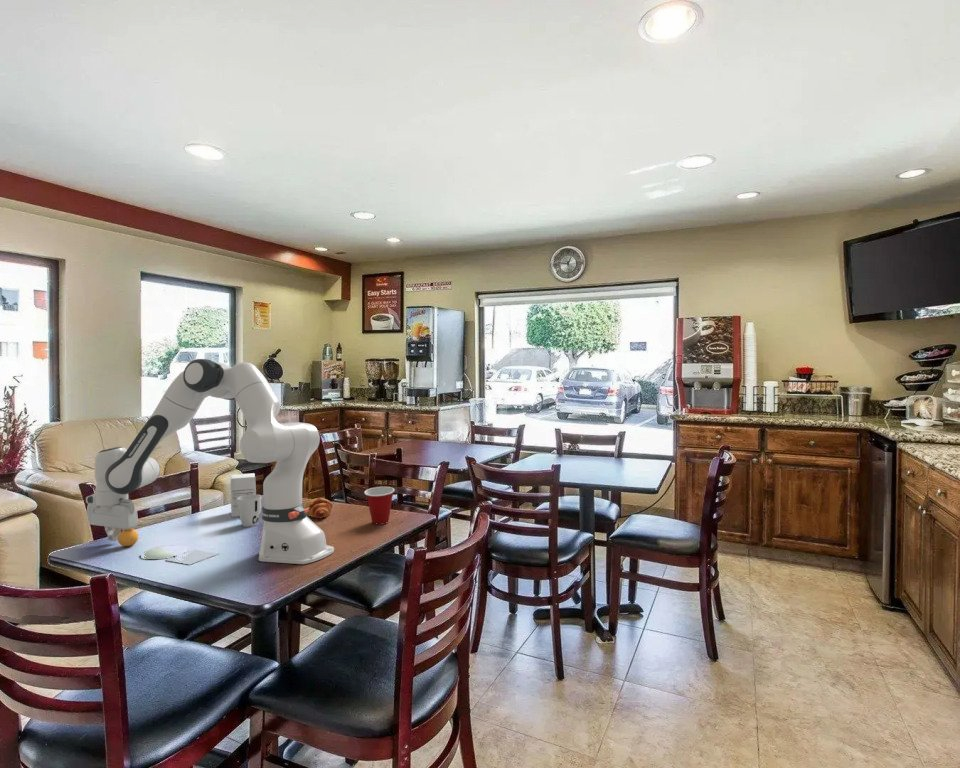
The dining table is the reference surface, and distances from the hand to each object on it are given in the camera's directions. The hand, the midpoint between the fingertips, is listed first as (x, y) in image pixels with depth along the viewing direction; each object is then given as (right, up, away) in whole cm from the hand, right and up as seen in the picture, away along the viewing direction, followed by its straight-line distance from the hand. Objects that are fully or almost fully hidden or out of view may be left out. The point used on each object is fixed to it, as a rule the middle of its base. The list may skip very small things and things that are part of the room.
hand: (113, 540), depth 175 cm
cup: (+35, -1, +21) cm, 41 cm away
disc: (+22, -1, -10) cm, 24 cm away
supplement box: (+26, 0, +37) cm, 45 cm away
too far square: (+33, -1, -14) cm, 36 cm away
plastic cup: (+82, 0, +21) cm, 85 cm away
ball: (+7, +2, -3) cm, 7 cm away
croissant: (+56, 0, +34) cm, 66 cm away
